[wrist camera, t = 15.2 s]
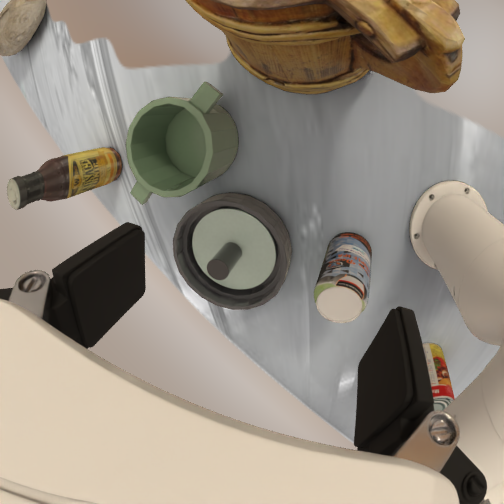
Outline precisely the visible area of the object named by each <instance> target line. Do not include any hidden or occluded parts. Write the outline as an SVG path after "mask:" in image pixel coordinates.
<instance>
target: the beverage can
mask: <svg viewBox="0 0 504 504" xmlns="http://www.w3.org/2000/svg"><path fill="white" fill-rule="evenodd" d="M371 255H372V252H371V247H370V245H369V243H368V242H367V240H366V239H365V238H363V237H362V236H360V235H358V234H356V233H349V232H347V233H341V234H339V235H337V236H335V237H334V238H333V239H332V240H331V241H330V243H329V245H328V248H327V252H326V255H325V258H324V261H323V265H322V268H321V271H320V274H319V277H318V280H317V283H316V286H315V290H314V299H315V303H316V305H317V309H318V311H319V313H320V314H321V315H322V316H323V317H324V318H326V319H328V320H330V321H332V322H337V323H346V322H350V321H352V320H354V319H356V318H357V317H358V316H359V315H360V313H361V312H362V311H363V310H364V309H365V307H366V306H367V303H368V298H369V287H370V273H371Z"/></svg>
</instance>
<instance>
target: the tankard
mask: <svg viewBox="0 0 504 504" xmlns="http://www.w3.org/2000/svg"><path fill="white" fill-rule="evenodd" d="M186 1H187V2H188V4H190V6H191V7H192V8H193V9H194V10H195V11H196V12H197V13H199V14H200V15H201V16H202V17H203V18H204V19H206V20H207V21H208V22H210V23H211V24H212V25H214V26H215V27H217V28H219V29H220V30H222V31H223V32H224V34H225V35H226V38H227V43H228V46H229V48H230V50H231V52H232V54H233V56H234V57H235V58H236V60H237V61H238V62H239V63H240V64H241V65H242V66H243V67H244V68H245V69H246V70H247V71H249V72H250V73H251V74H252V75H254V76H256V77H257V78H259V79H261V80H262V81H264V82H265V83H267V84H270V85H272V86H275V87H277V88H279V89H282V90H284V91H288V92H293V93H301V94H320V93H325V92H329V91H332V90H334V89H337V88H340V87H343V86H345V85H348V84H351V83H354V82H356V81H357V80H359V79H361V78H362V77H363V76H364V75H365V74H366V73H367V72H368V71H369V70H371V71H374V72H377V73H379V74H381V75H383V76H386V77H388V78H390V79H392V80H394V81H397V82H399V83H401V84H403V85H406V86H408V87H410V88H413V89H415V90H420V91H425V92H429V93H439V92H445V91H447V90H448V89H449V88H450V87H451V86H452V85H453V84H454V83H455V82H456V81H457V80H458V78H459V74H460V71H461V62H462V43H463V42H464V40H465V38H464V36H463V34H462V32H461V29H460V27H459V25H458V24H457V22H456V20H457V18H458V16H459V14H460V10H459V4H458V3H457V2H456V1H455V0H186Z"/></svg>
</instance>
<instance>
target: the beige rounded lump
mask: <svg viewBox="0 0 504 504" xmlns="http://www.w3.org/2000/svg"><path fill="white" fill-rule="evenodd" d="M45 7H46V0H11V1H10V2H9V3H8V4H7V5H6V6H5V7H4V8H3V10H2V12H1V13H0V55H1V56H11V55H15V54H17V53H18V52H19V51H21V50H22V49H23V48H24V47H25V46H26V44H27V43H28V42H29V41H30V39H31V38H32V36H33V34H34V32H35V31H36V30H37V28H38V26H39V24H40V23H41V20H42V19H43V16H44V14H45Z"/></svg>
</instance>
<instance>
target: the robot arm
mask: <svg viewBox="0 0 504 504" xmlns="http://www.w3.org/2000/svg"><path fill="white" fill-rule="evenodd" d="M465 188H466V190H465ZM464 190H465V191H464ZM430 194H431V197H430V198H429V195H430ZM409 233H410V239H411V243H412V245H413V248H414V250H415V252H416V254H417V255H418V257H419V258H420V259H421V260H422V261H423V262H424V263H425V264H426V265H428V266H430V267H431V268H434V269H437V270H439V272H440V274H441V276H442V277H443V279H444V281H445V283H446V285H447V287H448V289H449V291H450V293H451V295H452V297H453V299H454V301H455V303H456V305H457V307H458V309H459V311H460V313H461V315H462V317H463V319H464V322H465V324H466V325H467V327H468V329H469V330H470V331H471V333H472V334H473V335H474V336H476V337H477V338H478V339H480V340H481V341H484V342H486V343H489V344H493V345H498V346H500V349H499V350H498V352H497V353H496V355H495V356H494V357H493V358H492V360H491V361H490V362H489V363H488V365H487V366H486V367H485V369H484V370H483V371H482V372H481V373H480V374H479V376H478V377H477V378H476V379H475V380H474V381H473V382H472V383H471V384H470V385H469V386H468V387H467V388H466V389H465V390H464V391H463V392H462V393H461V394H460V395H459V396H458V397H457V398H456V399H455V400H453V401H452V403H450V404H449V405H448V406H447V407H446V408H445V409H444V410H443V411H442V410H435V411H434V404H433V403H434V399H433V393H432V387H431V382H430V376H429V371H428V367H427V362H426V357H425V353H424V349H423V345H422V340H421V336H420V333H419V329H418V325H417V321H416V318H415V314H414V312H413V310H410V309H407V308H403V307H400V306H399V307H397V308H396V309H392V310H391V311H390V312H389V314H388V316H387V318H386V319H385V321H384V323H383V325H382V326H381V328H380V330H379V331H378V333H377V335H376V336H375V338H374V340H373V341H372V343H371V345H370V346H369V348H368V349H367V351H366V353H365V354H364V356H363V357H362V359H361V361H360V363H359V366H358V389H357V410H356V425H355V437H354V445H355V446H356V447H358V448H357V449H358V450H351V449H346V448H341V447H335V446H331V445H326V444H321V443H317V442H312V441H308V440H303V439H299V438H295V437H292V436H288V435H284V434H280V433H277V432H273V431H270V430H266V429H263V428H259V427H256V426H253V425H250V424H247V423H244V422H241V421H238V420H235V419H232V418H230V417H227V416H224V415H221V414H218V413H216V412H213V411H210V410H208V409H205V408H203V407H201V406H198V405H196V404H193V403H191V402H189V401H186V400H184V399H182V398H179V397H177V396H175V395H173V394H170V393H168V392H166V391H164V390H161V389H160V388H157V387H155V386H153V385H151V384H149V383H147V382H145V381H143V380H141V379H139V378H137V377H135V376H133V375H131V374H130V373H128V372H126V371H124V370H122V369H120V368H119V367H117V366H115V365H113V364H111V363H110V362H108V361H106V360H105V359H102V358H101V357H99V356H98V355H96V354H94V353H93V352H91V351H89V350H88V348H89V347H93V346H94V345H95V344H96V343H97V342H98V341H99V340H100V339H101V338H102V337H103V335H105V333H107V332H108V330H109V329H110V328H111V327H112V326H113V325H114V324H115V323H116V322H117V321H118V320H119V319H120V318H121V317H122V316H123V315H124V314H125V313H126V312H127V311H128V310H129V309H130V308H131V307H132V306H133V305H134V304H135V303H136V302H137V301H138V300H139V299H140V298H141V297H142V296H143V294H144V292H145V234H144V232H143V231H142V228H141V227H140V226H138V225H135V224H132V223H129V222H127V223H125V224H123V225H121V226H119V227H118V228H116V229H114V230H113V231H111V232H109V233H108V234H106V235H105V236H103V237H101V238H100V239H98V240H97V241H95V242H94V243H92V244H90V245H88V246H87V247H85V248H84V249H82V250H81V251H79V252H77V253H76V254H75V255H73V256H71V257H70V258H68V259H67V260H65V261H64V262H62V263H61V264H59V265H58V266H57V267H55V268H54V269H52V272H53V278H52V279H50V277H49V275H48V274H47V273H46V272H44V271H40V270H34V271H30V272H27V273H25V274H23V275H21V276H20V277H19V278H18V279H17V281H16V282H15V285H14V287H13V288H8V289H0V504H504V225H503V224H502V223H501V222H500V221H498V220H497V219H496V218H494V217H493V216H492V215H491V214H489V213H488V211H487V207H486V204H485V202H484V200H483V198H482V197H481V196H480V194H479V193H478V192H477V191H476V190H475V189H474V188H472V187H471V186H469V185H467V184H465V183H463V182H460V181H454V180H453V181H444V182H440V183H438V184H436V185H434V186H432V187H430V188H429V189H428V190H427V191H426V192H424V194H423V195H422V196H421V197H420V198H419V200H418V202H417V203H416V205H415V207H414V209H413V212H412V215H411V220H410V232H409ZM415 233H417V234H416V235H414V234H415Z"/></svg>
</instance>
